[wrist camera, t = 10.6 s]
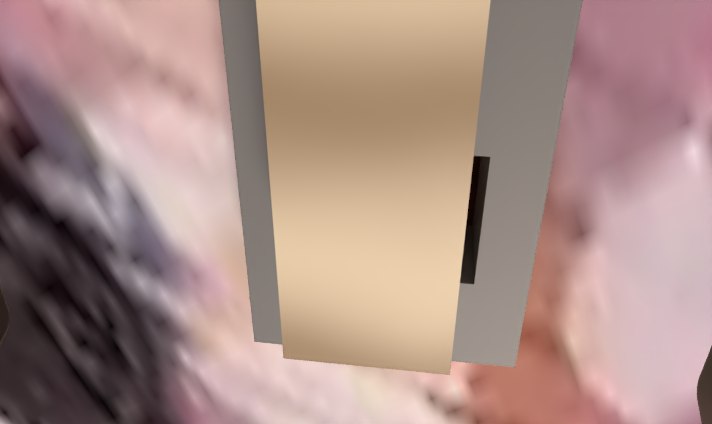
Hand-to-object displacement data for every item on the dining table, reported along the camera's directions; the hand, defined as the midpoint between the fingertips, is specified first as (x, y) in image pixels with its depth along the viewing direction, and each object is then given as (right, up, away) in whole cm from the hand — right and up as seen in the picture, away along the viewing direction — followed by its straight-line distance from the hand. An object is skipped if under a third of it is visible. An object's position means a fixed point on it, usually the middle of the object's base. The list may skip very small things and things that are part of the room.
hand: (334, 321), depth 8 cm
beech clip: (+1, +6, +10) cm, 12 cm away
